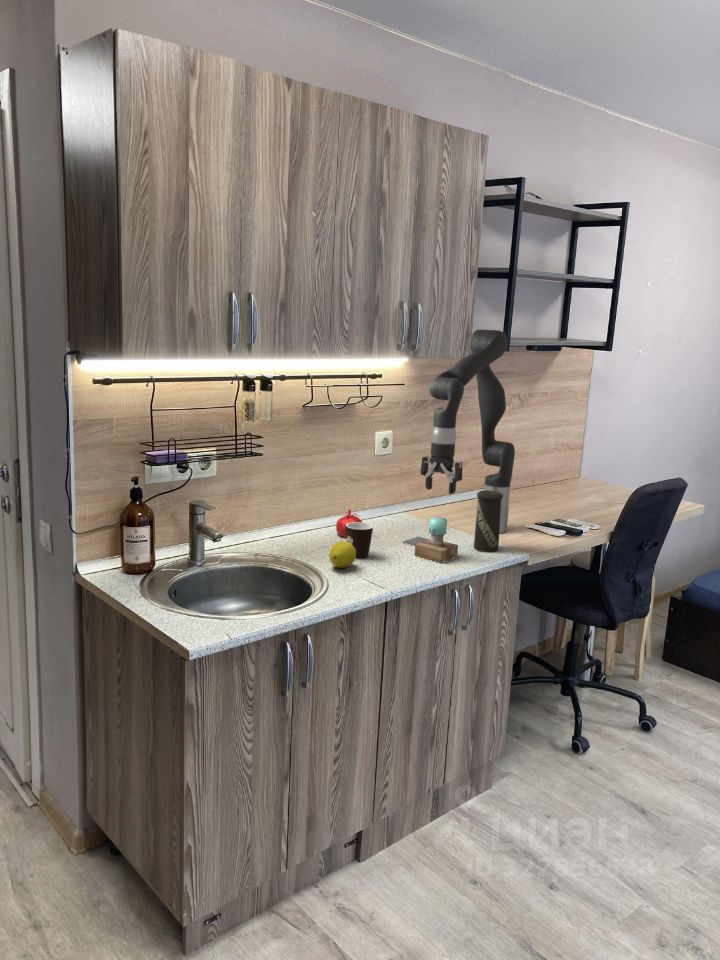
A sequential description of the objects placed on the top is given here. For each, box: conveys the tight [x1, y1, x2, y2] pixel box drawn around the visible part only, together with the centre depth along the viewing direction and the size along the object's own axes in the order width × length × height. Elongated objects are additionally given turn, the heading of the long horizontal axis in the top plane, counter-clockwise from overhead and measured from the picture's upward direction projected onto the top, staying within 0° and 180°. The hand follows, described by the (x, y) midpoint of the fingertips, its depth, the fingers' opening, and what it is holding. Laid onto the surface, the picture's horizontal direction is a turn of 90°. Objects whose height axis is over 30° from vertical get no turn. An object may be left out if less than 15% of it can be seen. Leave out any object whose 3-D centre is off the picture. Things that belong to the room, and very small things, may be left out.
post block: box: [414, 534, 459, 564], centre depth 255 cm, size 10×10×8 cm
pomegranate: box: [335, 509, 364, 539], centre depth 274 cm, size 10×10×9 cm
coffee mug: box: [345, 521, 374, 560], centre depth 253 cm, size 12×9×10 cm
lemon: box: [328, 540, 356, 569], centre depth 239 cm, size 11×8×8 cm
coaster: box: [402, 536, 431, 547], centre depth 270 cm, size 9×9×1 cm
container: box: [473, 489, 503, 553], centre depth 265 cm, size 9×9×20 cm
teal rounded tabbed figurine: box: [428, 516, 448, 536], centre depth 253 cm, size 8×6×4 cm
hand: (440, 491), depth 251 cm, fingers open, 8 cm apart
